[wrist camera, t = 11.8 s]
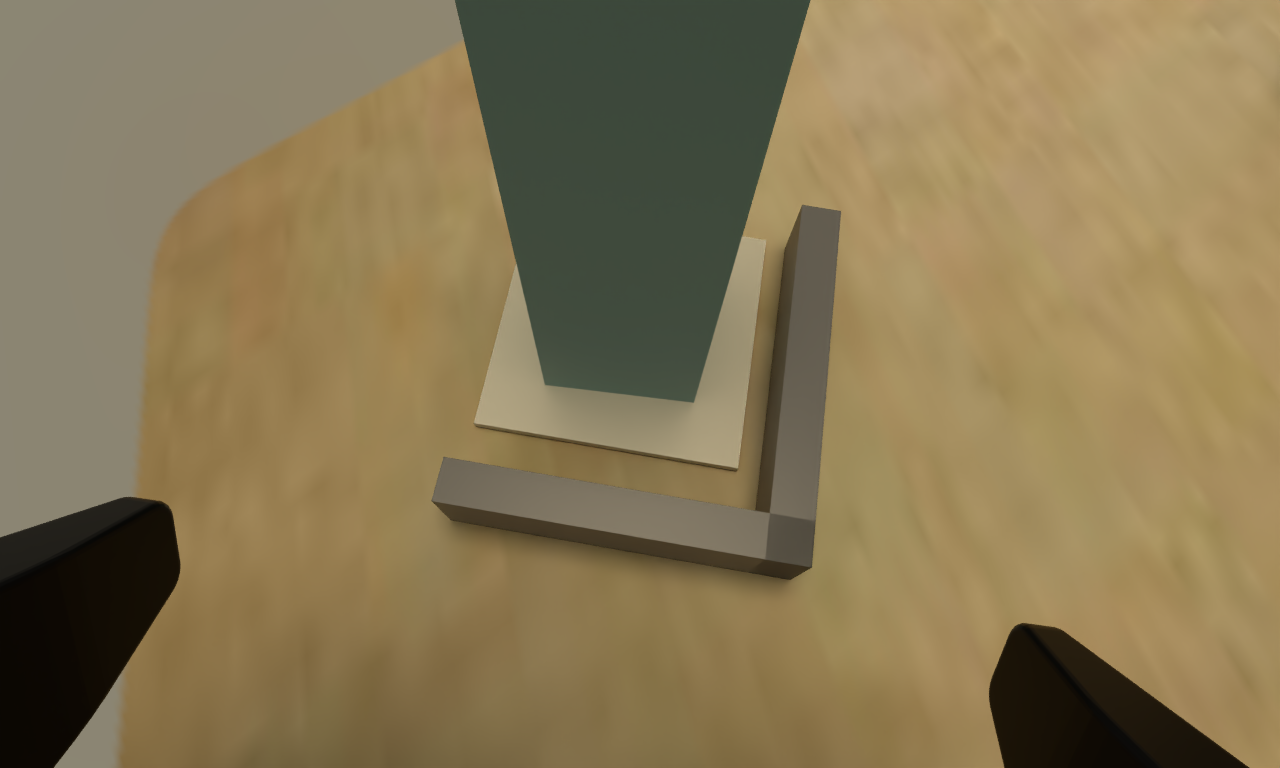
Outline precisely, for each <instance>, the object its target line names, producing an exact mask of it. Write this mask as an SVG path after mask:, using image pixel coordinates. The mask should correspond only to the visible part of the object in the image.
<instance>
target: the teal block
mask: <svg viewBox="0 0 1280 768" xmlns="http://www.w3.org/2000/svg"><path fill="white" fill-rule="evenodd" d="M455 3H456V7H457V11H458V16H459V20H460V24H461V28H462V33H463V37H464V41H465V46H466V50H467V54H468V58H469V63H470V67H471V71H472V75H473V80H474V84H475V88H476V93H477V97H478V101H479V105H480V110H481V114H482V118H483V122H484V127H485V131H486V135H487V140H488V144H489V148H490V152H491V157H492V161H493V165H494V170H495V174H496V178H497V182H498V187H499V191H500V195H501V199H502V204H503V208H504V212H505V217H506V221H507V225H508V229H509V234H510V238H511V242H512V246H513V251H514V255H515V259H516V264H517V268H518V272H519V276H520V281H521V285H522V289H523V294H524V298H525V302H526V306H527V311H528V315H529V319H530V323H531V328H532V332H533V336H534V341H535V345H536V349H537V353H538V358H539V362H540V366H541V370H542V375H543V379H544V383H545V385H550V386H558V387H567V388H575V389H583V390H592V391H600V392H608V393H617V394H625V395H633V396H642V397H650V398H659V399H667V400H675V401H684V402H692V403H694V401H695V397H696V394H697V390H698V387H699V383H700V380H701V377H702V373H703V370H704V366H705V363H706V359H707V356H708V352H709V349H710V345H711V342H712V339H713V335H714V332H715V328H716V325H717V321H718V318H719V314H720V311H721V307H722V304H723V300H724V297H725V294H726V290H727V287H728V283H729V280H730V276H731V273H732V269H733V266H734V262H735V259H736V256H737V252H738V249H739V245H740V242H741V238H742V235H743V231H744V228H745V224H746V221H747V218H748V214H749V211H750V207H751V204H752V200H753V197H754V193H755V190H756V186H757V183H758V180H759V176H760V173H761V169H762V166H763V162H764V159H765V155H766V152H767V148H768V145H769V141H770V138H771V135H772V131H773V128H774V124H775V121H776V117H777V114H778V110H779V107H780V103H781V100H782V97H783V93H784V90H785V86H786V83H787V79H788V76H789V72H790V69H791V65H792V62H793V59H794V55H795V52H796V48H797V45H798V41H799V38H800V34H801V31H802V27H803V24H804V20H805V17H806V14H807V10H808V7H809V3H810V0H455Z"/></svg>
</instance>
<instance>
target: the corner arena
mask: <svg viewBox="0 0 1280 768" xmlns="http://www.w3.org/2000/svg"><path fill="white" fill-rule="evenodd" d="M840 217H841V211H837V210H831V209H825V208H818V207H812V206H806V205H802V207H801V209H800V212H799V214H798V217H797V219H796V222H795V224H794V227H793V229H792V232H791V235H790V237H789V240H788V242H787V245H786V247H785V253H784V262H783V271H782V280H781V289H780V298H779V307H778V315H777V324H776V333H775V342H774V351H773V360H772V369H771V378H770V387H769V396H768V404H767V413H766V422H765V431H764V440H763V449H762V458H761V467H760V476H759V485H758V493H757V502H756V511H754V510H748V509H742V508H736V507H731V506H725V505H719V504H713V503H707V502H702V501H696V500H690V499H684V498H679V497H673V496H667V495H661V494H655V493H650V492H644V491H638V490H632V489H627V488H621V487H615V486H609V485H603V484H598V483H592V482H586V481H580V480H575V479H569V478H563V477H557V476H552V475H546V474H540V473H534V472H528V471H523V470H517V469H511V468H505V467H500V466H494V465H488V464H482V463H476V462H471V461H465V460H459V459H453V458H448V457H443V461H442V465H441V468H440V472H439V476H438V479H437V483H436V487H435V490H434V494H433V497H432V502H433V503H434V504H435V505H436V506H437V507H438V508H439V509H440V510H441V511H442V512H443V513H444V514H445V515H446V516H447V517H448V518H449V519H450V520H453V521H459V522H465V523H470V524H476V525H482V526H488V527H493V528H499V529H505V530H510V531H516V532H522V533H527V534H533V535H539V536H544V537H550V538H556V539H562V540H567V541H573V542H579V543H584V544H590V545H596V546H601V547H607V548H613V549H618V550H624V551H630V552H636V553H641V554H647V555H653V556H658V557H664V558H670V559H675V560H681V561H687V562H692V563H698V564H704V565H710V566H715V567H721V568H727V569H732V570H738V571H744V572H749V573H755V574H761V575H766V576H772V577H778V578H784V579H789V580H791V579H792V578H794V577H796V576H798V575H799V574H801V573H803V572H805V571H806V570H808V569H810V568H812V558H813V546H814V534H815V521H816V509H817V497H818V485H819V473H820V461H821V448H822V436H823V424H824V412H825V400H826V387H827V375H828V363H829V351H830V339H831V327H832V314H833V302H834V290H835V278H836V266H837V253H838V241H839V229H840ZM765 246H766V240H762V239H756V238H750V237H744V236H742V238H741V242H740V245H739V249H738V252H737V256H736V259H735V262H734V266H733V269H732V273H731V276H730V280H729V283H728V287H727V290H726V294H725V297H724V300H723V304H722V307H721V311H720V314H719V318H718V321H717V325H716V328H715V332H714V335H713V339H712V342H711V345H710V349H709V352H708V356H707V359H706V363H705V366H704V370H703V373H702V377H701V380H700V383H699V387H698V390H697V394H696V397H695V401H694V403H692V402H684V401H675V400H667V399H659V398H650V397H642V396H633V395H625V394H617V393H608V392H600V391H592V390H583V389H575V388H567V387H558V386H550V385H545V383H544V379H543V375H542V370H541V366H540V362H539V358H538V353H537V349H536V345H535V341H534V336H533V332H532V328H531V323H530V319H529V315H528V311H527V306H526V302H525V298H524V294H523V289H522V285H521V281H520V276H519V272H518V268H517V264H516V265H515V269H514V273H513V277H512V281H511V284H510V288H509V292H508V296H507V300H506V303H505V307H504V311H503V315H502V319H501V322H500V326H499V330H498V334H497V337H496V341H495V345H494V349H493V353H492V356H491V360H490V364H489V368H488V372H487V375H486V379H485V383H484V387H483V391H482V394H481V398H480V402H479V406H478V409H477V413H476V417H475V421H474V424H475V426H477V427H483V428H489V429H495V430H500V431H506V432H512V433H518V434H524V435H530V436H535V437H541V438H547V439H553V440H559V441H565V442H570V443H576V444H582V445H588V446H594V447H600V448H605V449H611V450H617V451H623V452H629V453H635V454H640V455H646V456H652V457H658V458H664V459H669V460H675V461H681V462H687V463H693V464H699V465H704V466H710V467H716V468H722V469H728V470H734V471H737V469H738V464H739V456H740V448H741V440H742V432H743V424H744V416H745V408H746V400H747V392H748V384H749V376H750V367H751V359H752V351H753V343H754V335H755V327H756V319H757V311H758V303H759V295H760V287H761V278H762V270H763V262H764V254H765Z"/></svg>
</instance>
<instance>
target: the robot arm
mask: <svg viewBox="0 0 1280 768" xmlns="http://www.w3.org/2000/svg"><path fill="white" fill-rule="evenodd" d="M179 574H180V558H179V551H178V545H177V538H176V532H175V526H174V519H173V514H172V511H171V509H170V508H169V506H168V505H167V504H165V503H164V502H161V501H156V500H149V499H142V498H135V497H124V498H120V499H117V500H113V501H111V502H107V503H104V504H102V505H98V506H95V507H92V508H89V509H86V510H83V511H80V512H77V513H74V514H71V515H67V516H64V517H61V518H58V519H55V520H52V521H49V522H46V523H43V524H40V525H37V526H34V527H31V528H28V529H25V530H22V531H19V532H16V533H13V534H9V535H7V536H3V537H0V768H54V767H55V765H56V764H57V763H58V761H59V760H60V759H61V757H62V756H63V755H64V754H65V752H66V751H67V750H68V748H69V747H70V746H71V745H72V743H73V742H74V741H75V739H76V738H77V737H78V735H79V734H80V732H81V731H82V730H83V729H84V727H85V726H86V724H87V723H88V722H89V720H90V719H91V718H92V716H93V715H94V713H95V712H96V710H97V709H98V707H99V706H100V704H101V703H102V702H103V700H104V699H105V697H106V696H107V694H108V693H109V691H110V689H111V688H112V686H113V685H114V683H115V682H116V680H117V678H118V677H119V675H120V674H121V672H122V670H123V669H124V667H125V666H126V664H127V663H128V661H129V659H130V658H131V656H132V655H133V653H134V652H135V650H136V648H137V647H138V645H139V644H140V642H141V640H142V639H143V637H144V636H145V634H146V633H147V631H148V629H149V628H150V626H151V625H152V623H153V622H154V620H155V618H156V617H157V615H158V614H159V612H160V610H161V609H162V607H163V606H164V604H165V603H166V601H167V599H168V598H169V596H170V595H171V593H172V592H173V590H174V588H175V586H176V584H177V581H178V578H179ZM989 702H990V708H991V712H992V716H993V721H994V725H995V729H996V734H997V738H998V742H999V746H1000V751H1001V755H1002V759H1003V764H1004V768H1249V767H1248V766H1246V765H1245V764H1244V763H1242V762H1241V761H1239V760H1238V759H1237V758H1235V757H1234V756H1233V755H1231V754H1230V753H1229V752H1227V751H1226V750H1225V749H1223V748H1222V747H1220V746H1219V745H1218V744H1216V743H1215V742H1214V741H1212V740H1211V739H1210V738H1208V737H1207V736H1205V735H1204V734H1203V733H1201V732H1200V731H1199V730H1197V729H1196V728H1195V727H1193V726H1192V725H1191V724H1189V723H1188V722H1186V721H1185V720H1184V719H1182V718H1181V717H1180V716H1178V715H1177V714H1176V713H1174V712H1173V711H1172V710H1170V709H1169V708H1167V707H1166V706H1165V705H1163V704H1162V703H1161V702H1159V701H1158V700H1157V699H1155V698H1154V697H1152V696H1151V695H1150V694H1148V693H1147V692H1146V691H1144V690H1143V689H1142V688H1140V687H1139V686H1138V685H1136V684H1135V683H1133V682H1132V681H1131V680H1129V679H1128V678H1127V677H1125V676H1124V675H1123V674H1121V673H1120V672H1118V671H1117V670H1116V669H1114V668H1113V667H1112V666H1110V665H1109V664H1108V663H1106V662H1105V661H1104V660H1102V659H1101V658H1099V657H1098V656H1097V655H1095V654H1094V653H1093V652H1091V651H1090V650H1089V649H1087V648H1086V647H1085V646H1083V645H1082V644H1080V643H1079V642H1078V641H1076V640H1075V639H1074V638H1072V637H1071V636H1070V635H1068V634H1067V633H1065V632H1064V631H1062V630H1061V629H1058V628H1055V627H1049V626H1042V625H1035V624H1028V623H1021V624H1018V625H1016V626H1015V627H1014V628H1013V629H1012V630H1011V632H1010V634H1009V636H1008V639H1007V641H1006V644H1005V646H1004V649H1003V651H1002V654H1001V656H1000V659H999V661H998V664H997V666H996V669H995V671H994V674H993V676H992V679H991V682H990V688H989Z"/></svg>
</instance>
